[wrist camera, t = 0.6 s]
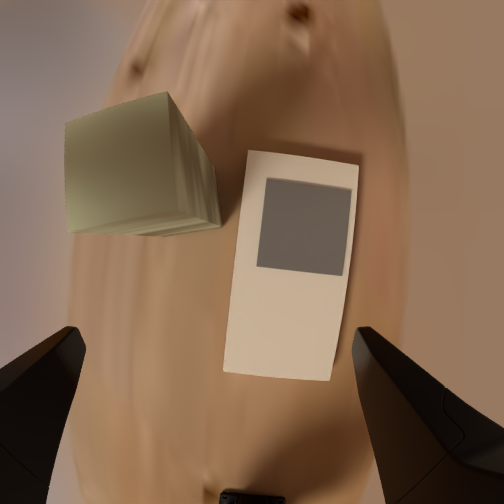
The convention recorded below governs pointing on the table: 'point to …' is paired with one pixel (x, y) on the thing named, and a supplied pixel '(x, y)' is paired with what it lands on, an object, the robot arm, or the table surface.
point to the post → (138, 172)
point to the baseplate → (290, 266)
